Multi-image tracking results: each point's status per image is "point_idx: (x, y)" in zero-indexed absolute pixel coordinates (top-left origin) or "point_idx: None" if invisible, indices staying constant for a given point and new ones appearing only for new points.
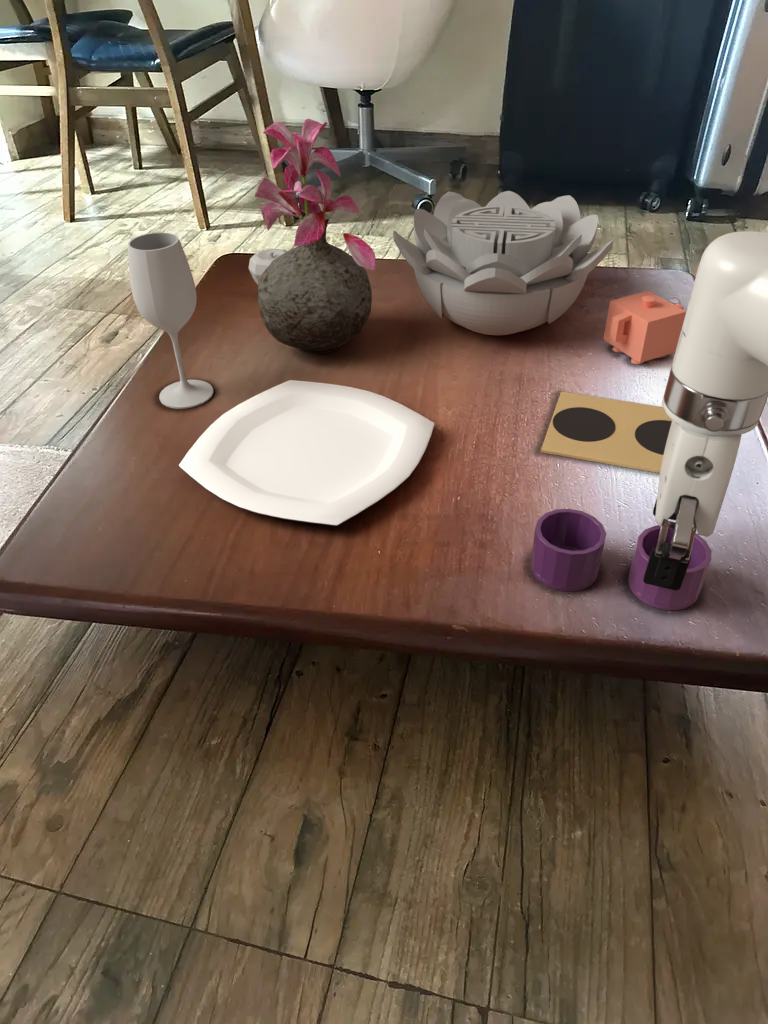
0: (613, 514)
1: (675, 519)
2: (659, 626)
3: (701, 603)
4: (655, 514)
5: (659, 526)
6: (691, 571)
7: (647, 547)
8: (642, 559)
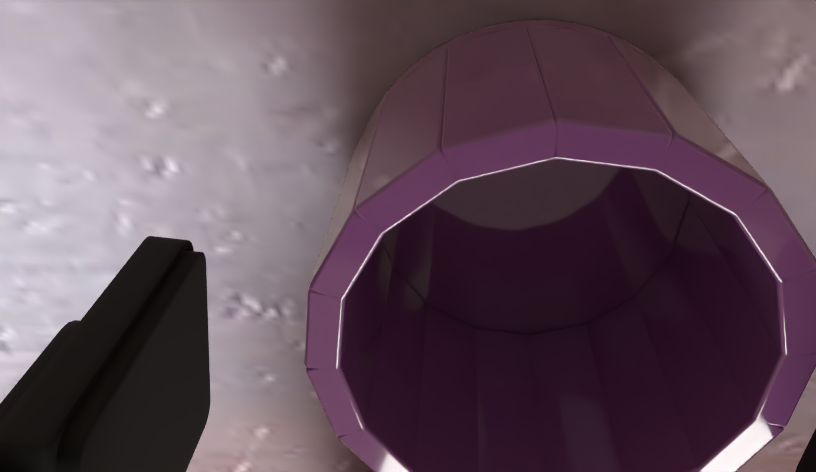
0: None
1: (206, 306)
2: (811, 223)
3: (640, 9)
4: (205, 414)
5: (342, 421)
6: (812, 279)
7: (410, 366)
8: None
